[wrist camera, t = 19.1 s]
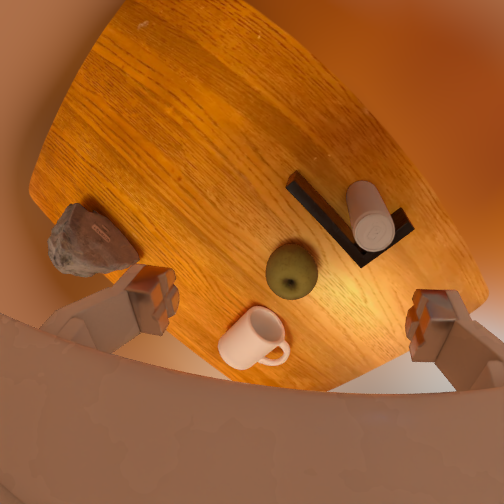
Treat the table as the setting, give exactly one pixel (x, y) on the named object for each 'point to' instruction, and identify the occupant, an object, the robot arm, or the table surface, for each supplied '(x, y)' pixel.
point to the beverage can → (369, 217)
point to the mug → (254, 339)
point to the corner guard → (337, 225)
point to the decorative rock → (88, 244)
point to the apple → (291, 272)
